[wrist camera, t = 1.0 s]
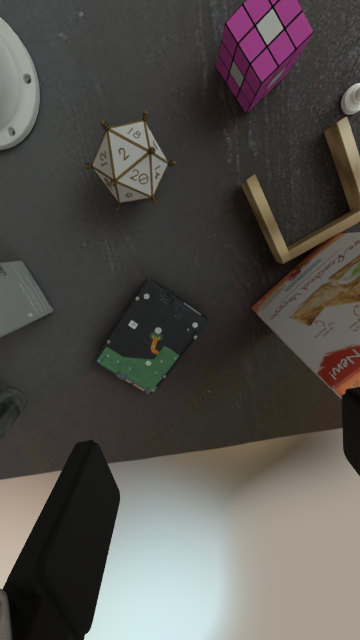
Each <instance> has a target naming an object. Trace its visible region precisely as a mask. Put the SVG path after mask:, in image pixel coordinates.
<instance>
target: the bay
mask: <svg viewBox="0 0 360 640" xmlns="http://www.w3.org/2000/svg"><path fill="white" fill-rule="evenodd" d="M324 134H325V137H326V140H327V143H328V146H329V149H330V152H331V155H332V158H333V161H334V164H335V166H336V169H337V172H338V175H339V178H340V181H341V184H342V187H343V190H344V193H345V196H346V199H347V202H348V205H349V208H350V211H349V212H348V213H346V214H344V215H342V216H340V217H339V218H337V219H335V220H333V221H332V222H330V223H328V224H326V225H325V226H323V227H321V228H319V229H318V230H316V231H314V232H312V233H310V234H309V235H307V236H305V237H303V238H302V239H300V240H298V241H296V242H295V243H293V244H291V245H289V246H287V247H286V245H285V242H284V240H283V238H282V235H281V233H280V231H279V228H278V226H277V224H276V221H275V219H274V217H273V214H272V212H271V210H270V208H269V205H268V203H267V201H266V198H265V196H264V194H263V191H262V189H261V187H260V184H259V182H258V180H257V177H256V175H253V176H251V177H250V178H248V179H247V180H245V181H244V182H243V183H242V184H241V186H242V188H243V190H244V193H245V195H246V197H247V199H248V201H249V204H250V206H251V208H252V210H253V212H254V215H255V217H256V219H257V221H258V223H259V226H260V228H261V230H262V232H263V234H264V237H265V239H266V241H267V243H268V245H269V248H270V250H271V252H272V254H273V257H274V259H275V261H276V262H277V263H281V264H284V263H286V262H288V261H290V260H292V259H293V258H295V257H297V256H299V255H301V254H302V253H304V252H306V251H308V250H310V249H311V248H313V247H315V246H317V245H319V244H320V243H322V242H324V241H326V240H328V239H329V238H331V237H333V236H335V235H337V234H338V233H340V232H342V231H344V230H346V229H347V228H349V227H351V226H353V225H355V224H356V223H358V222H360V156H359V153H358V150H357V147H356V144H355V140H354V137H353V134H352V131H351V127H350V124H349V121H348V118H347V117H345V118H343V119H341V120H340V121H338V122H337V123H335V124H334V125H333V126H332V127H330V128H329V129H328V130H326V131H325V132H324Z"/></svg>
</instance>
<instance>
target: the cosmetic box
mask: <svg viewBox="0 0 360 640" xmlns="http://www.w3.org/2000/svg"><path fill="white" fill-rule="evenodd" d="M51 312H53V308H52V307H51V305H50V304H49V302H48V301H47V299H46V297H45V296H44V294H43V292H42V291H41V289H40V287H39V286H38V284H37V283H36V281H35V280H34V278H33V277H32V275H31V273H30V272H29V270H28V269H27V268H26V266H25V265H24V263H23V262H22V261H21V260H19V261H10V262H0V338H1V337H3V336H5V335H7V334H9V333H11V332H13V331H16V330H18V329H20V328H22V327H24V326H25V325H27V324H30V323H32V322H34V321H36V320H38V319H40V318H42V317H44V316H45V315H47V314H49V313H51Z"/></svg>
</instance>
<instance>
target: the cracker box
mask: <svg viewBox="0 0 360 640" xmlns="http://www.w3.org/2000/svg"><path fill="white" fill-rule="evenodd" d="M251 308H252V309H253V310H254V311H255V313H256V314H257V315H258V316H259V317H260V318H261V319H262V320H263V321H264V322H265V323H266V324H267V325H268V326H269V327H270V328H271V329H272V330H273V331H274V332H275V333H276V334H277V336H278V337H279V338H280V339H281V340H282V341H283V342H284V343H285V344H286V345H287V346H288V347H289V348H290V349H291V350H292V351H293V352H294V353H295V354H296V355H297V356H298V357H299V358H300V359H301V360H302V361H303V362H304V363H305V364H306V365H307V366H308V367H309V368H310V369H311V370H312V371H313V372H314V373H315V374H316V375H317V376H318V377H319V378H320V379H321V380H322V381H324V382H325V383H326V384H327V385H328V386H329V387H330V388H331V389H332V390H333V391H334V392H335V393H336V394H337V395H338V396H339V397H340V398H341V399H342V395H343V394H345V391H346V390H347V389H350V388H355V387H360V233H341V234H337V235H335V236H333V237H331V238H329V239H328V240H326V241H324V242H322V243H320V244H319V245H318V246H317V247H316V248H314V249H313V250H312V251H311V252H310V253H309V254H308V255H307V256H306V257H305V258H304V259H303V260H302V261H301V262H299V263H298V264H297V265H296V266H295V267H294V268H293V269H292V270H291V271H290V272H289V273H288V274H287V275H286V276H284V277H283V278H282V279H281V280H280V281H279V282H278V283H277V284H276V285H275V286H274V287H273V288H272V289H270V290H269V291H268V292H267V293H266V294H265V295H264V296H263V297H262V298H261V299H260V300H259V301H257V302H256V303H255V304H254V305H253V306H252V307H251Z"/></svg>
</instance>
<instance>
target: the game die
mask: <svg viewBox="0 0 360 640" xmlns="http://www.w3.org/2000/svg"><path fill="white" fill-rule="evenodd" d="M142 116H143V119H142V120H139V121H134V122H130V123H125V124H121V125H116V126H112V127H108V124H107V123H106V121H103V120H101V126H103V129H104V130H105V132H104V135H103V137H102V140H101V142H100V144H99V147H98V149H97V152H96V154H95V157H94V159H93V161H92V164H89V163H88V164H85V165H84V166H83V167H84V168H86V169H90V168H93V170H94V171H95V172H96V174H97V175H98V176H99V178H100V179H101V180H102V182H103V183H104V184H105V186H106V187H107V188H108V190H109V191H110V192H111V194H112V195H113V196H114V198H115V199H116V200H117V201H118V203H117V206H116V208H117V210H119V209H121V208H120V207H121V203H126V202H132V201H138V200H144V199H150V198H151V199H152V201H153V203H155V204H157V199H156V197H154V195H155V193H156V190H157V188H158V186H159V184H160V182H161V180H162V177H163V175H164V173H165V171H166V169H167V167H168V165H170V166H173V165H175V164H176V162H174V161H173V160H172V161H169V162H168V160H167V159H166V157H165V155H164V153H163V151H162V150H161V148H160V146H159V144H158V143H157V141H156V139H155V137H154V136H153V134H152V132H151V130H150V128H149V127H148V125H147V123H146V119H147V117H148V111H145V112H144V113H143V115H142Z"/></svg>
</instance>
